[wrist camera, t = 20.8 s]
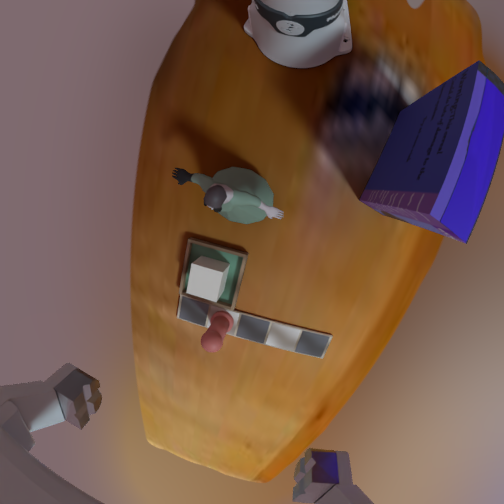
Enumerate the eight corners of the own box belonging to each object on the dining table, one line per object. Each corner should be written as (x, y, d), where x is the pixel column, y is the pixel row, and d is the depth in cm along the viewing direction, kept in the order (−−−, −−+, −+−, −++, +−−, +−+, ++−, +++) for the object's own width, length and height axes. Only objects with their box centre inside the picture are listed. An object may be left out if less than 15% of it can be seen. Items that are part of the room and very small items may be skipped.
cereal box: (383, 214, 41) (467, 244, 17) (358, 200, 41) (430, 214, 18) (422, 127, 36) (512, 91, 13) (399, 111, 36) (480, 59, 13)
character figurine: (185, 198, 44) (125, 206, 27) (202, 151, 42) (150, 132, 25) (273, 236, 44) (262, 267, 26) (294, 188, 42) (298, 187, 24)
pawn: (214, 307, 47) (198, 332, 39) (235, 314, 47) (224, 340, 38) (210, 326, 48) (194, 353, 40) (231, 333, 48) (219, 361, 39)
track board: (181, 293, 48) (180, 294, 48) (332, 335, 46) (332, 336, 46) (177, 316, 50) (176, 318, 49) (322, 357, 47) (322, 358, 47)
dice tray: (191, 237, 46) (188, 238, 44) (248, 253, 45) (247, 255, 44) (181, 290, 48) (178, 293, 47) (235, 307, 47) (233, 310, 46)
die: (201, 255, 46) (191, 263, 41) (230, 263, 45) (223, 272, 41) (196, 282, 47) (186, 292, 42) (223, 290, 47) (216, 302, 42)
